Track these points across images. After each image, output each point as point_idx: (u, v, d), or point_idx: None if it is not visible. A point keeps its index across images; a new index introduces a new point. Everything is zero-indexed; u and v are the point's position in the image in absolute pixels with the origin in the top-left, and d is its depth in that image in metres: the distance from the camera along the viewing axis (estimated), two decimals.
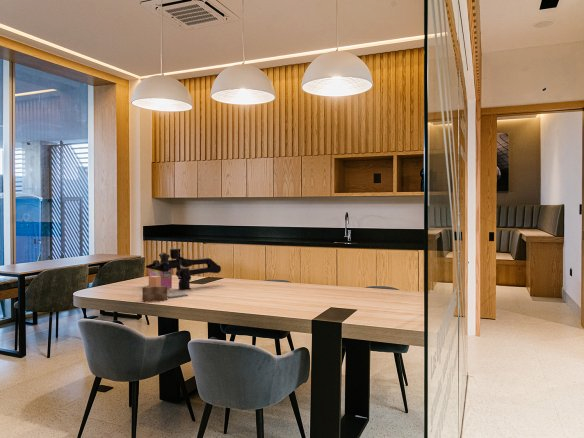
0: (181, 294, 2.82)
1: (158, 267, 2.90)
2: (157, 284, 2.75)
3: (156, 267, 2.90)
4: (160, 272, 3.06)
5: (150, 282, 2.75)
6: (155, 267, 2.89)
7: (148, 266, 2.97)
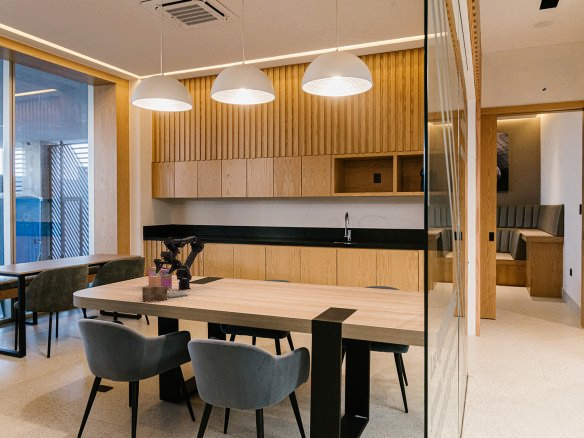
0: (181, 294, 2.82)
1: (172, 268, 2.86)
2: (157, 284, 2.75)
3: (171, 270, 2.85)
4: (160, 272, 3.06)
5: (150, 282, 2.75)
6: (171, 270, 2.84)
7: (157, 271, 2.87)
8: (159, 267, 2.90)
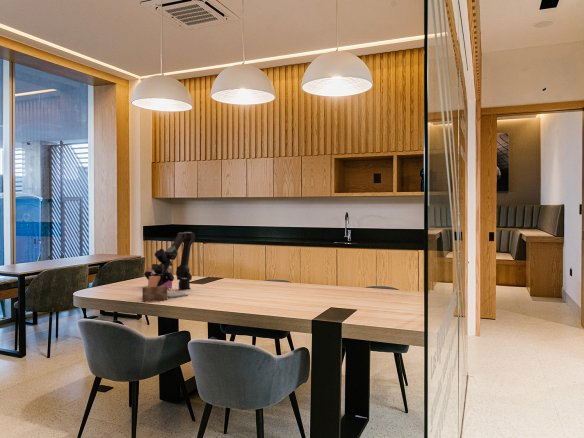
0: (181, 294, 2.82)
1: (161, 281, 2.77)
2: (157, 284, 2.75)
3: (160, 283, 2.76)
4: None
5: (150, 282, 2.75)
6: (159, 284, 2.76)
7: None
8: None
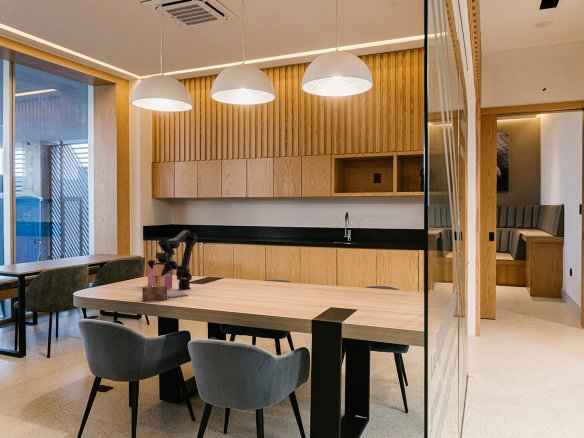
0: (181, 294, 2.82)
1: (166, 270, 2.78)
2: (161, 273, 2.76)
3: (164, 271, 2.77)
4: None
5: (154, 271, 2.76)
6: (164, 272, 2.77)
7: None
8: None
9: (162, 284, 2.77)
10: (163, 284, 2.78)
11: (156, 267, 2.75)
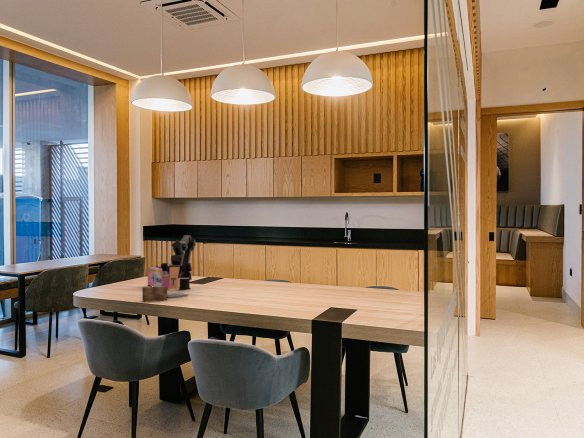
0: (181, 294, 2.82)
1: (181, 272, 2.84)
2: None
3: (180, 273, 2.83)
4: (161, 272, 3.06)
5: (171, 273, 2.80)
6: (180, 274, 2.83)
7: None
8: None
9: (178, 286, 2.83)
10: (178, 286, 2.84)
11: (173, 269, 2.80)
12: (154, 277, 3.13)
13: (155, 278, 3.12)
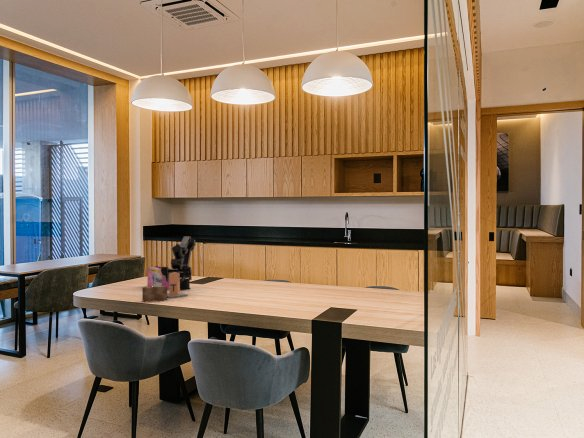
0: (181, 294, 2.82)
1: (184, 276, 2.84)
2: (178, 281, 2.82)
3: (183, 277, 2.83)
4: (161, 272, 3.06)
5: (171, 279, 2.80)
6: (183, 278, 2.83)
7: (167, 279, 2.83)
8: (167, 275, 2.86)
9: (178, 292, 2.83)
10: (179, 292, 2.84)
11: (173, 275, 2.80)
12: (154, 277, 3.13)
13: (155, 278, 3.12)
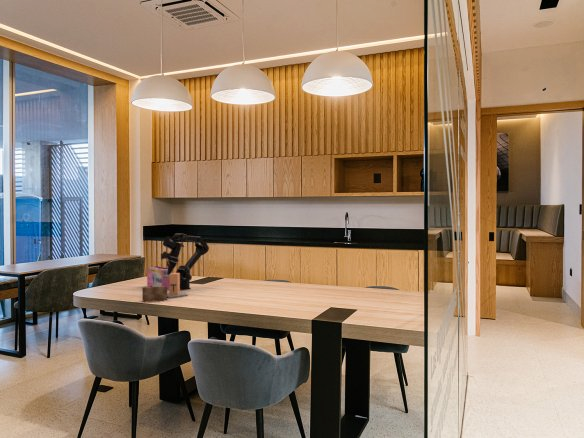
0: (181, 294, 2.82)
1: (171, 266, 2.92)
2: (178, 281, 2.82)
3: (170, 268, 2.92)
4: (161, 272, 3.06)
5: (171, 279, 2.80)
6: (170, 269, 2.92)
7: (169, 272, 3.01)
8: None
9: (178, 292, 2.83)
10: (179, 292, 2.84)
11: (173, 275, 2.80)
12: (154, 277, 3.13)
13: (155, 278, 3.12)
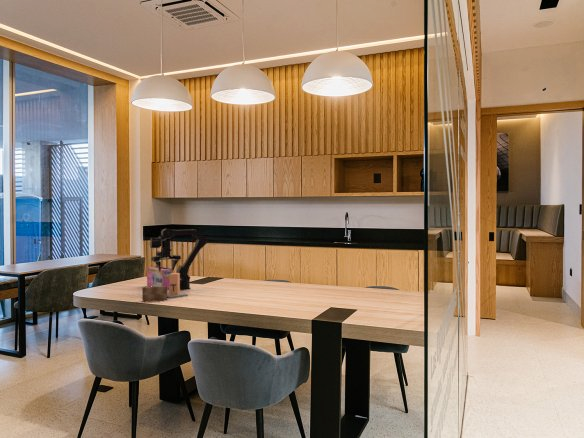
0: (181, 294, 2.82)
1: (157, 265, 2.99)
2: (178, 281, 2.82)
3: (158, 267, 2.99)
4: (161, 272, 3.06)
5: (171, 279, 2.80)
6: (158, 268, 2.99)
7: (172, 267, 3.05)
8: (173, 262, 3.05)
9: (178, 292, 2.83)
10: (179, 292, 2.84)
11: (173, 275, 2.80)
12: (154, 277, 3.13)
13: (155, 278, 3.12)
